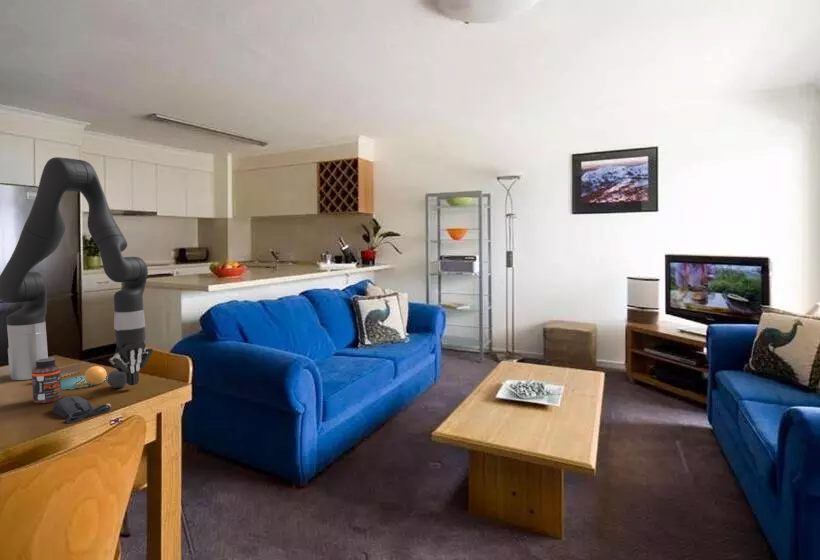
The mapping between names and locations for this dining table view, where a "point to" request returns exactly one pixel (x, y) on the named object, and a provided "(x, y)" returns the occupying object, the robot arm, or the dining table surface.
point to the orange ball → (95, 375)
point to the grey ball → (117, 379)
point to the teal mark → (72, 383)
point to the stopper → (69, 369)
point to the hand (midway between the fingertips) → (132, 384)
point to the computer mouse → (77, 409)
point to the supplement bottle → (46, 381)
